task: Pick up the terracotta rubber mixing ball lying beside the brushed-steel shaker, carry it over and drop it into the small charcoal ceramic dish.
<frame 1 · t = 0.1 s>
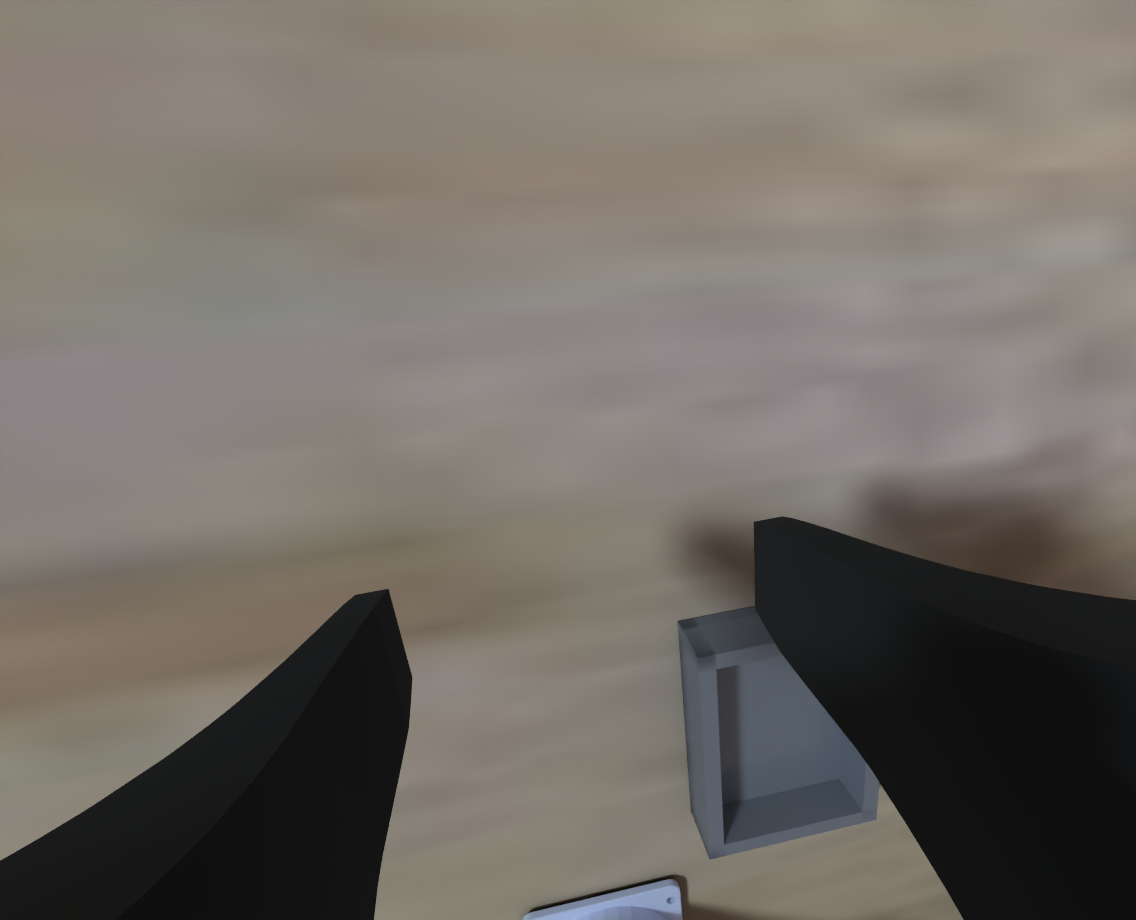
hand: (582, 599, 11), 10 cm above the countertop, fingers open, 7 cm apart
dish: (768, 705, 26), on the countertop
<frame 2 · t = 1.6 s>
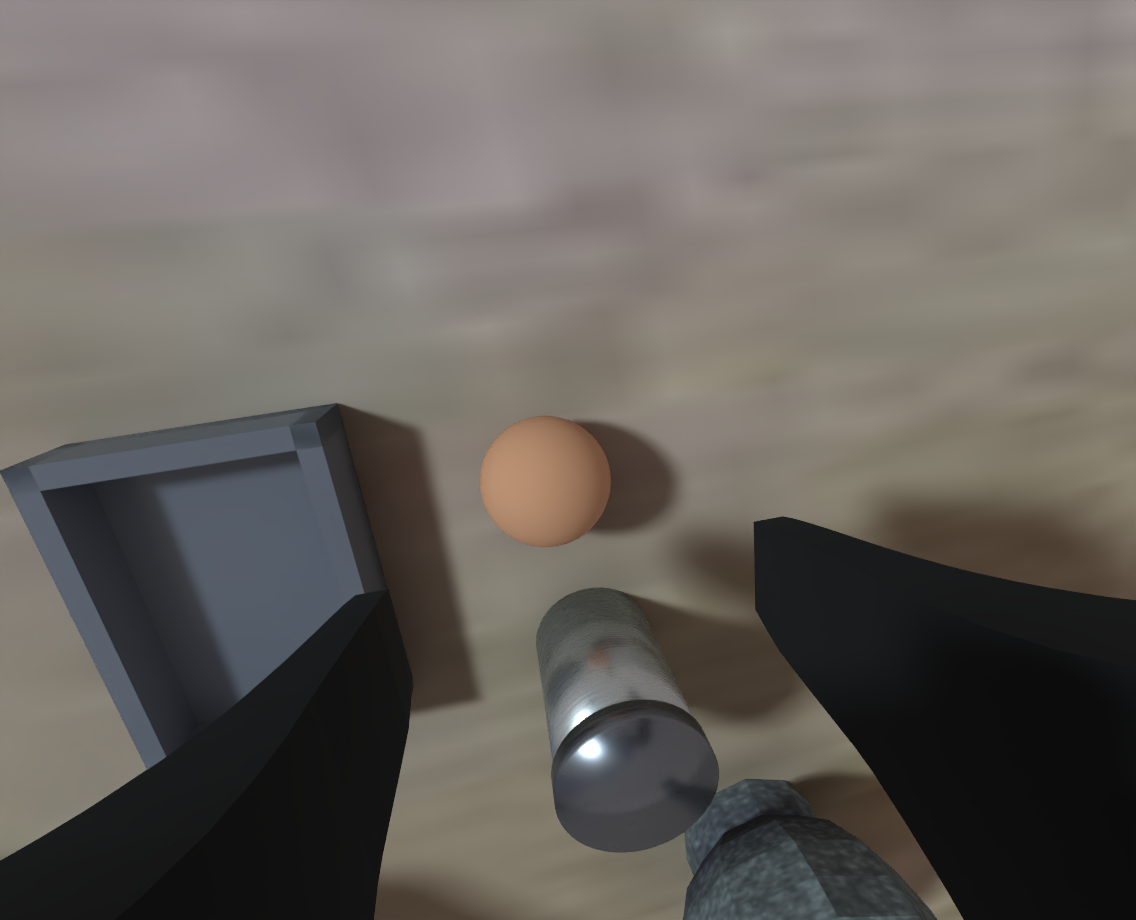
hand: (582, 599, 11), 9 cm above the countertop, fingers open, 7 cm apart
dish: (259, 578, 19), on the countertop
mortar and pestle: (744, 814, 26), on the countertop
ball: (539, 461, 19), on the countertop
shaker: (592, 637, 22), on the countertop
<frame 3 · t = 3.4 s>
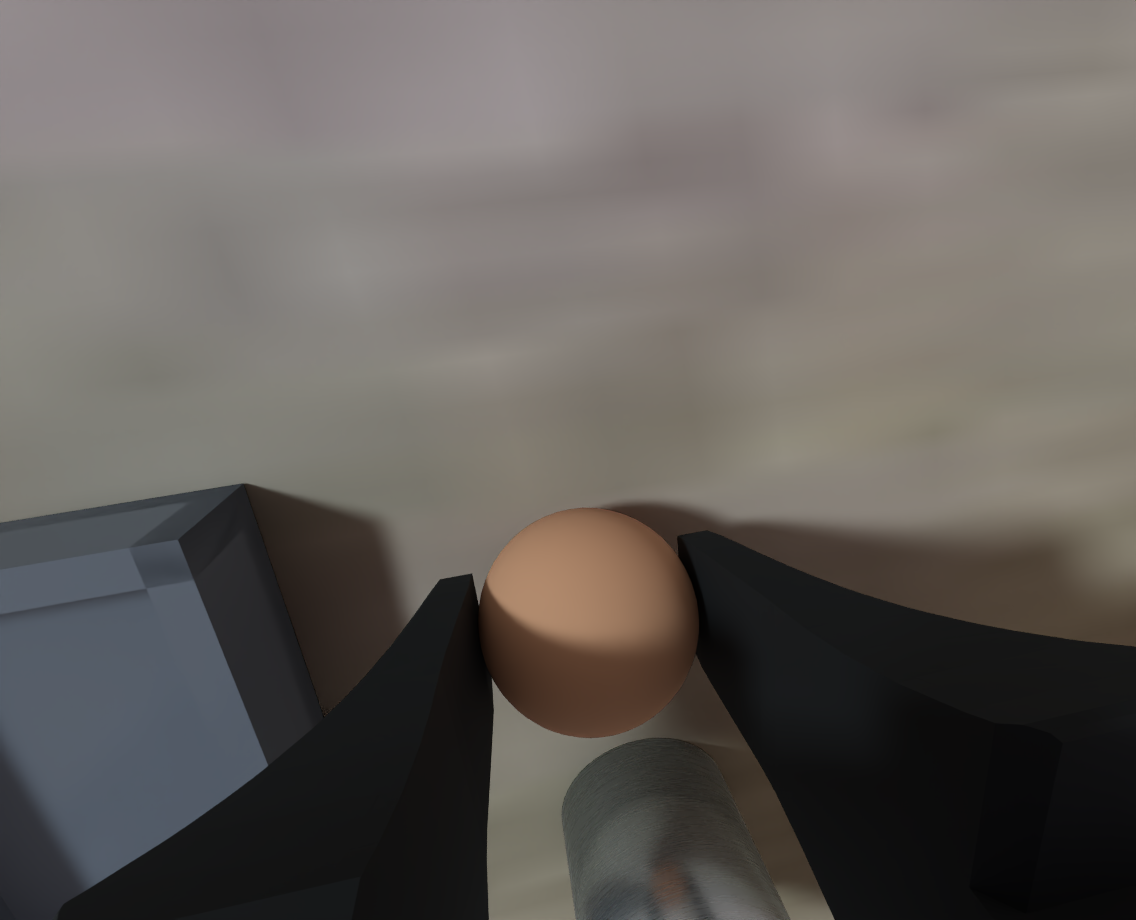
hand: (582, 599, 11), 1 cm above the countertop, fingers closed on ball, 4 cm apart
dish: (132, 749, 12), on the countertop
ball: (571, 563, 12), on the countertop, touching gripper
shaker: (644, 804, 15), on the countertop
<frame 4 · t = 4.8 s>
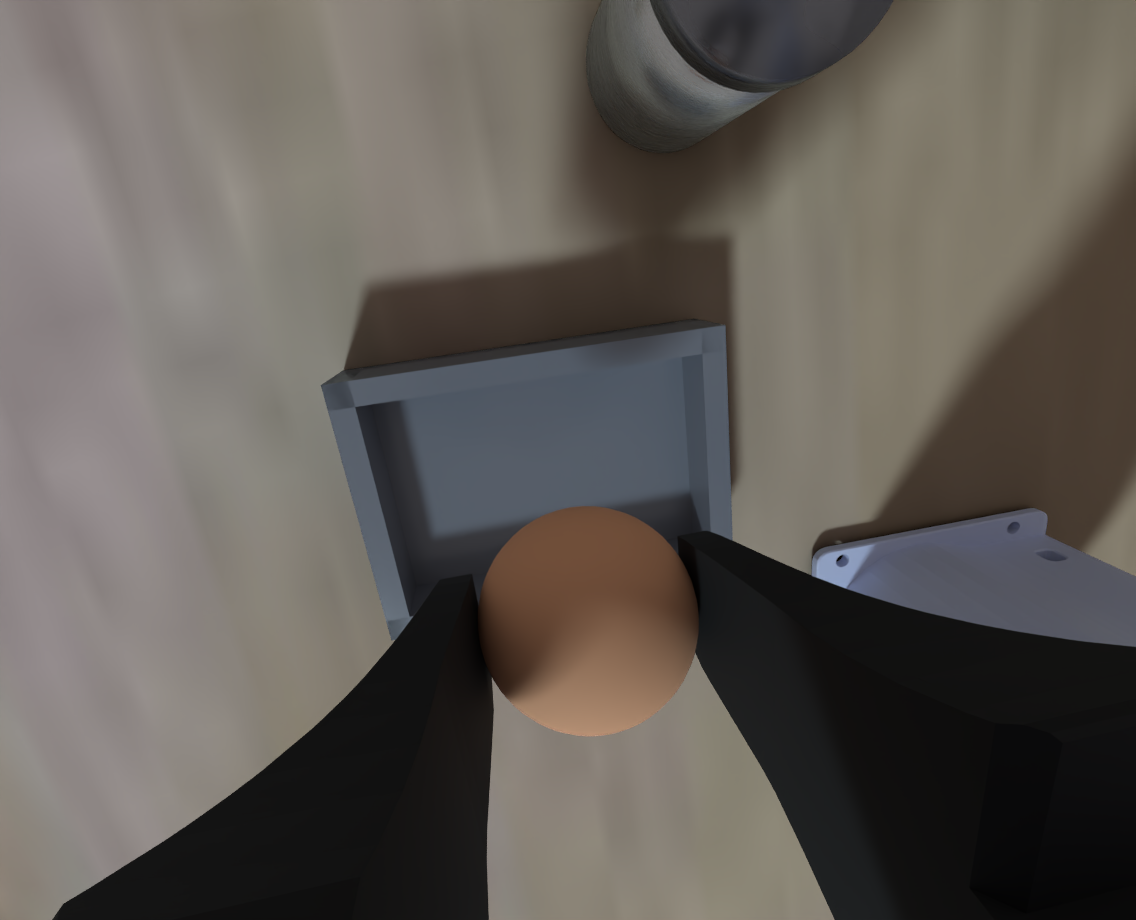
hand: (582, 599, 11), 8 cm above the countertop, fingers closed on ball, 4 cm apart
dish: (542, 464, 19), on the countertop
ball: (572, 562, 12), point 7 cm above the countertop, touching gripper
shaker: (664, 63, 15), on the countertop
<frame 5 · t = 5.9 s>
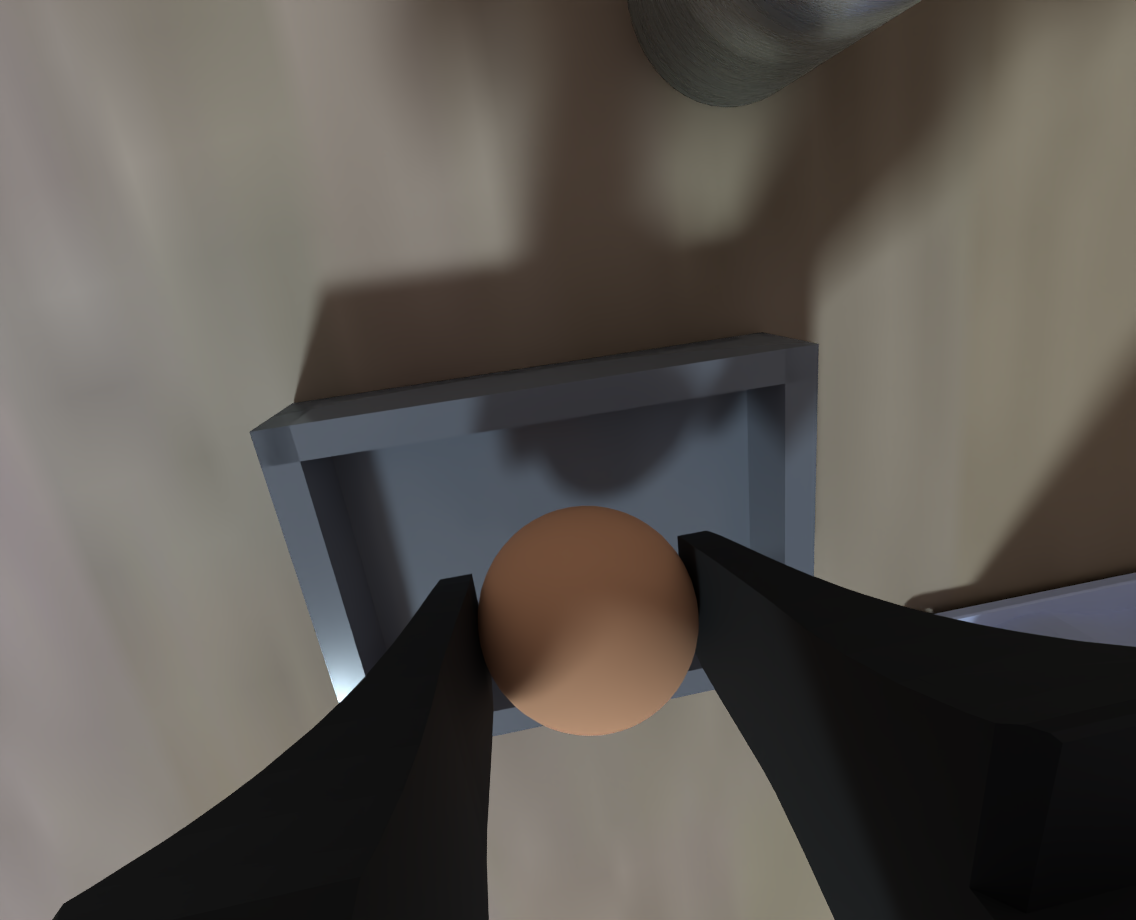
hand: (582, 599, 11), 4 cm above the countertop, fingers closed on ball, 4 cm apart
dish: (559, 521, 14), on the countertop
ball: (572, 561, 12), point 2 cm above the countertop, touching gripper
when the fingers open (4 cm above the countertop, at t = 6.4 s): ball drops 2 cm, resting on dish.
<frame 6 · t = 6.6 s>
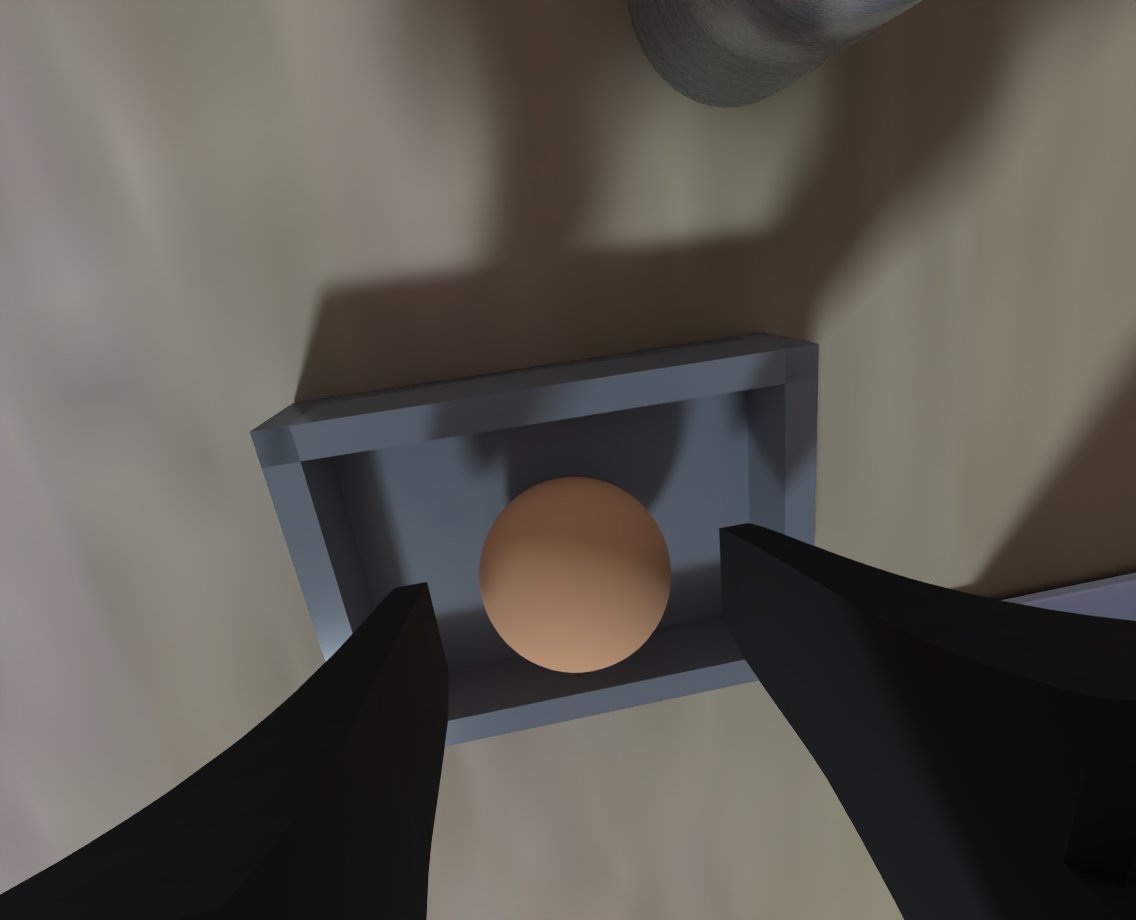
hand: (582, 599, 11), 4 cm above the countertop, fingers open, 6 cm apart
dish: (559, 522, 14), on the countertop
ball: (562, 530, 14), point 1 cm above the countertop, touching dish
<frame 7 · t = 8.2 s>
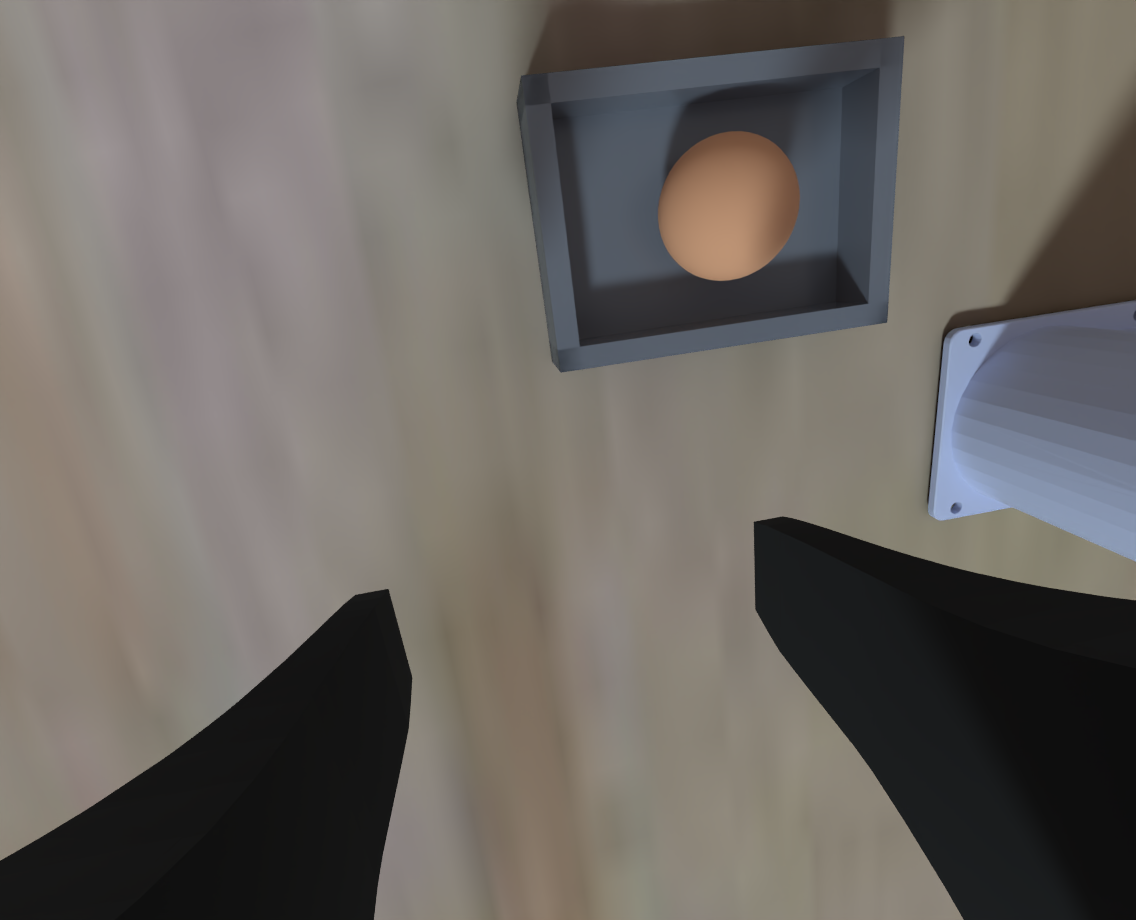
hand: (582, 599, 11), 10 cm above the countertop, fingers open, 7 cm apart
dish: (695, 220, 19), on the countertop
ball: (702, 216, 18), point 1 cm above the countertop, touching dish
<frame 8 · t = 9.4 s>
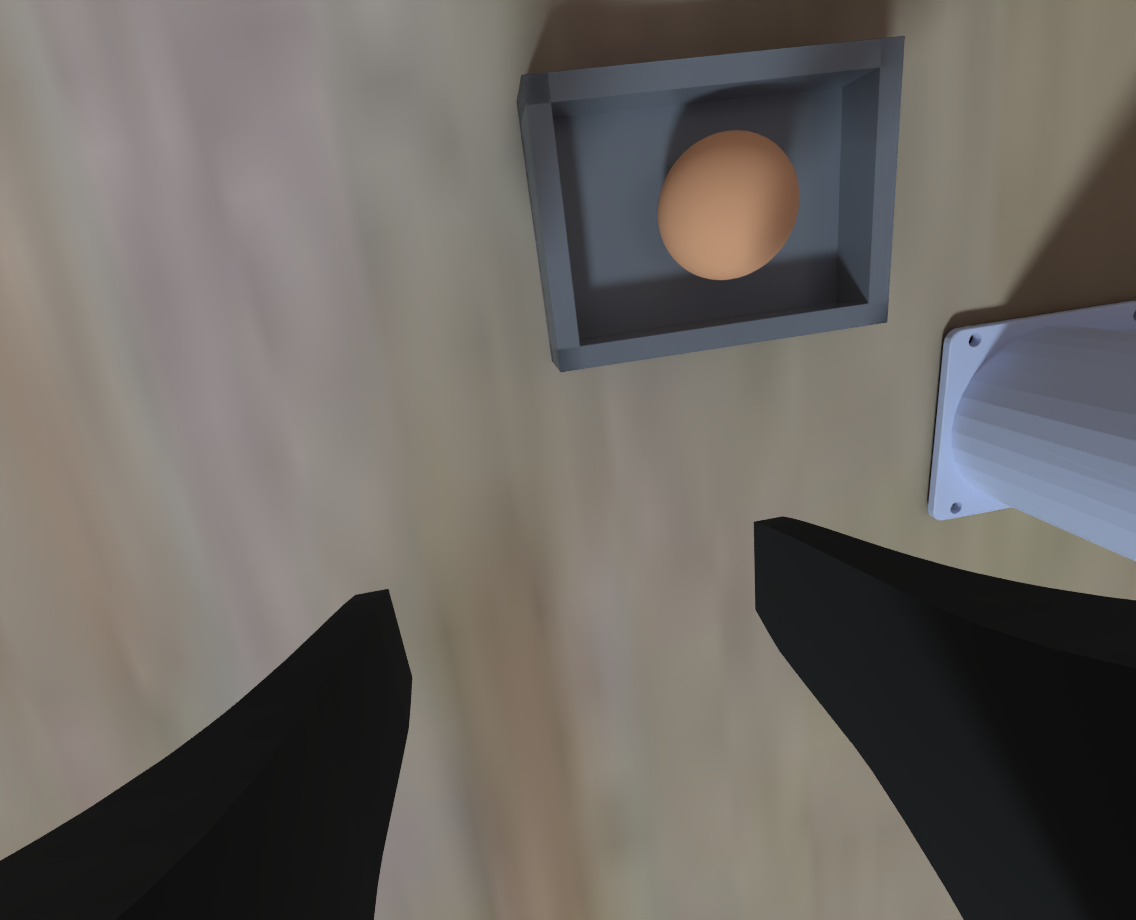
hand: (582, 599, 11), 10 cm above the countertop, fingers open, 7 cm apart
dish: (695, 219, 19), on the countertop
ball: (702, 216, 18), point 1 cm above the countertop, touching dish
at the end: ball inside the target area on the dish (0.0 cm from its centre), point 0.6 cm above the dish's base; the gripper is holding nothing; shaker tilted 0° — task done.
